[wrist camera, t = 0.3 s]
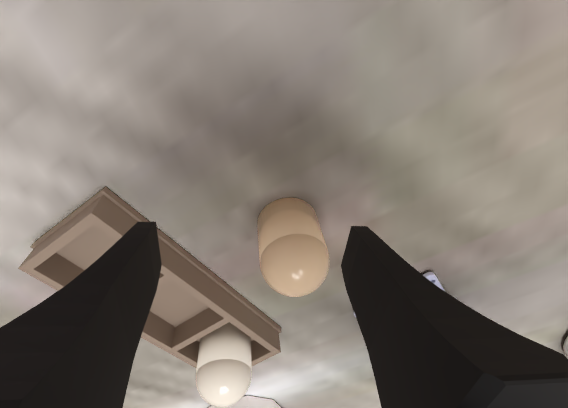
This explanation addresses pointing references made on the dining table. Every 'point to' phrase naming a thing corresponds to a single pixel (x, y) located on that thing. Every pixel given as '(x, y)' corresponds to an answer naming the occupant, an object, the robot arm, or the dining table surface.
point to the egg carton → (171, 287)
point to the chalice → (565, 346)
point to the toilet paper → (252, 403)
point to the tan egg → (291, 247)
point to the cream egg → (224, 366)
